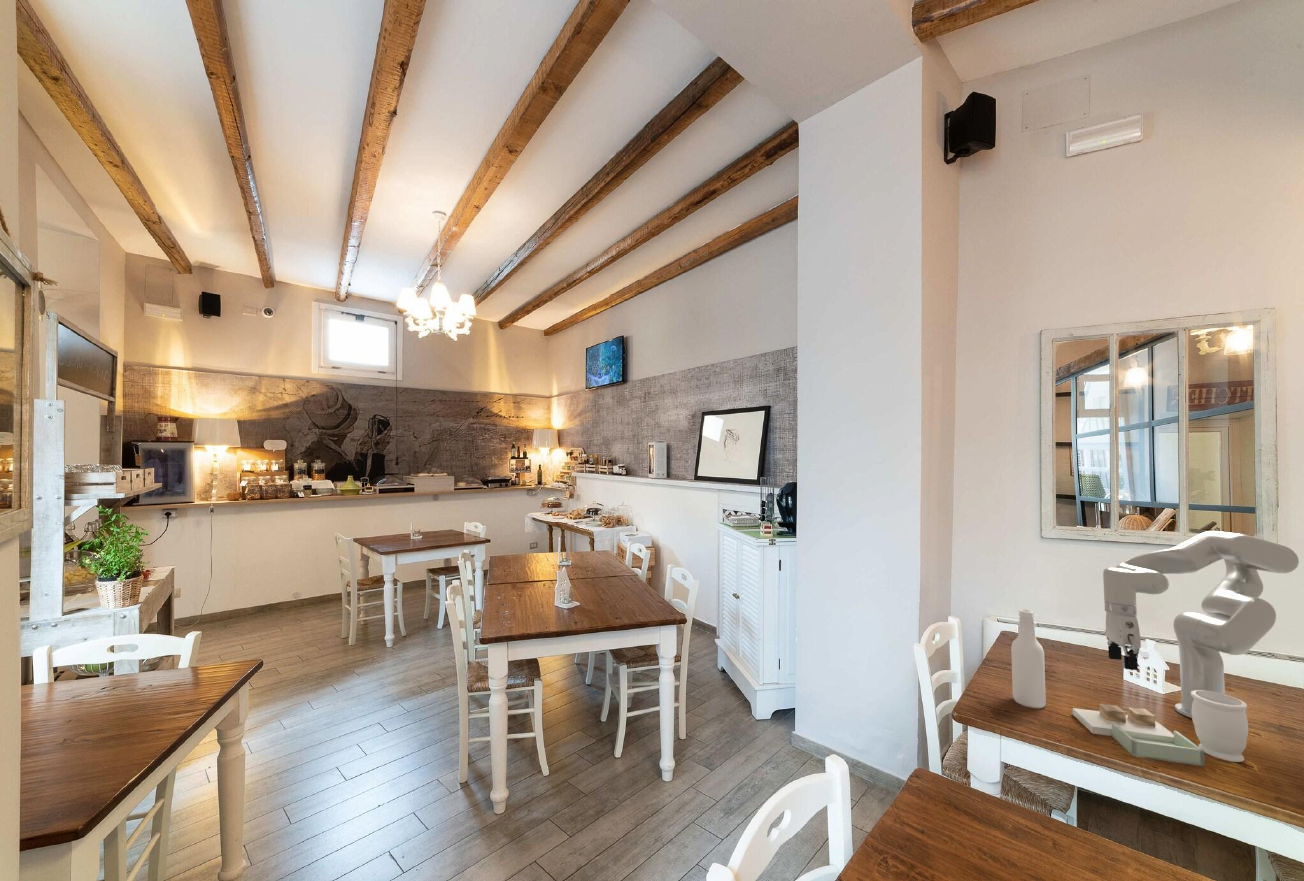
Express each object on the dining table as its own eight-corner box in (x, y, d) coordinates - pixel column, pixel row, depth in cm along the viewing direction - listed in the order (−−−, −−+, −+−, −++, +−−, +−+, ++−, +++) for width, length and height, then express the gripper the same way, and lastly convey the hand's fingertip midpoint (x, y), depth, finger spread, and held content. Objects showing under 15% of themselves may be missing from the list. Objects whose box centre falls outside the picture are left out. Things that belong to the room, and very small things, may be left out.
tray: (1177, 745, 143) (1177, 731, 143) (1204, 766, 133) (1204, 750, 133) (1112, 736, 147) (1111, 722, 148) (1133, 756, 138) (1132, 741, 138)
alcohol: (1047, 702, 169) (1044, 610, 170) (1044, 712, 162) (1041, 616, 164) (1015, 694, 175) (1012, 605, 176) (1010, 703, 168) (1008, 611, 170)
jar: (1258, 770, 132) (1255, 710, 132) (1201, 757, 137) (1198, 700, 138) (1239, 750, 141) (1236, 695, 141) (1187, 739, 146) (1184, 686, 147)
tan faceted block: (1146, 719, 154) (1145, 709, 154) (1155, 726, 149) (1155, 716, 150) (1127, 717, 155) (1127, 707, 155) (1136, 724, 151) (1135, 713, 151)
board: (1152, 724, 155) (1151, 717, 155) (1178, 745, 143) (1178, 737, 143) (1072, 714, 161) (1072, 708, 161) (1092, 733, 149) (1092, 726, 149)
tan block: (1117, 715, 156) (1117, 705, 156) (1126, 722, 152) (1125, 712, 152) (1099, 713, 157) (1099, 703, 157) (1107, 720, 153) (1107, 710, 153)
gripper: (1152, 616, 153) (1155, 676, 152) (1119, 602, 169) (1121, 655, 168) (1121, 614, 155) (1123, 673, 154) (1092, 600, 171) (1094, 653, 171)
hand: (1122, 663), depth 161 cm, fingers open, 8 cm apart
